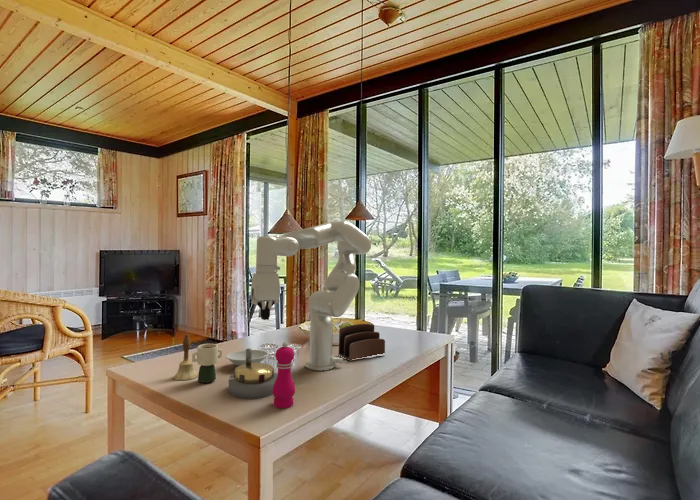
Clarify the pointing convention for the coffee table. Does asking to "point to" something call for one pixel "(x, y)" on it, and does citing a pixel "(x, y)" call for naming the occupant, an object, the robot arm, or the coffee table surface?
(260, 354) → the dish
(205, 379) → the character mug
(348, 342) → the letter holder
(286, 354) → the pepper mill
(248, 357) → the ring nut
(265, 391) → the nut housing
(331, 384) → the coffee table surface
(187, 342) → the hand bell
